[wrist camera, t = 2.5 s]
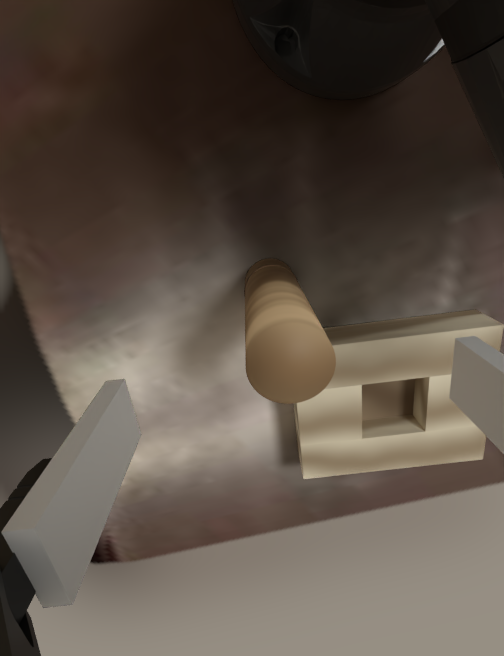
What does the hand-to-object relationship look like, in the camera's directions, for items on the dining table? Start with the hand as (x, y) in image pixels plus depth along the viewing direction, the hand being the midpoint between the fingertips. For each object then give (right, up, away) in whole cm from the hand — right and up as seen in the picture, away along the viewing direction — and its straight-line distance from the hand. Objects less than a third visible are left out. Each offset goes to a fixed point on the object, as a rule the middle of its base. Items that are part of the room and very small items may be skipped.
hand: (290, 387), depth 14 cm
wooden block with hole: (+10, -3, +18) cm, 21 cm away
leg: (0, +6, +14) cm, 16 cm away
